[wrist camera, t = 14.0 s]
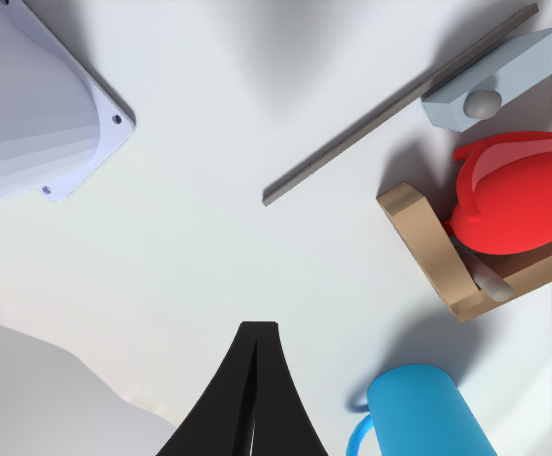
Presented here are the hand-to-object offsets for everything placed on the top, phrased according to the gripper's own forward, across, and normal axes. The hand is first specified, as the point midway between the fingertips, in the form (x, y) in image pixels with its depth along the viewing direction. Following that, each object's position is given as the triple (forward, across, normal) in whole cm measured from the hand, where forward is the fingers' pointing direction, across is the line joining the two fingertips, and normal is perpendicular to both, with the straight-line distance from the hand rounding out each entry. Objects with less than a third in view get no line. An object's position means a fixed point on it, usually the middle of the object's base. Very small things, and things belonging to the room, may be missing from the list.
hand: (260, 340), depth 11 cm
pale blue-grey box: (+10, -11, -9) cm, 17 cm away
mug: (+10, -12, +19) cm, 24 cm away
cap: (+10, -13, -3) cm, 17 cm away
